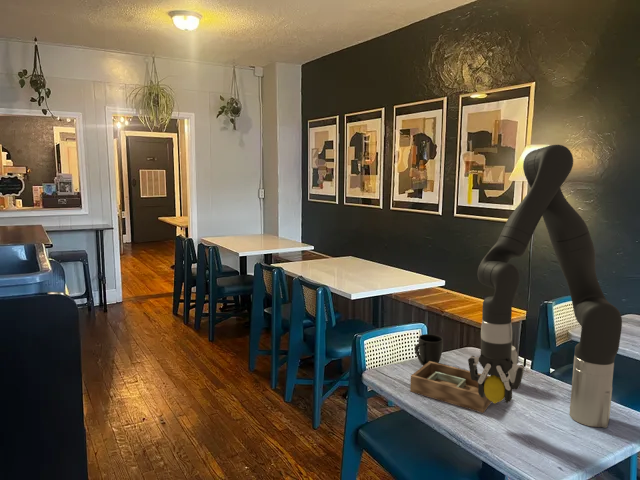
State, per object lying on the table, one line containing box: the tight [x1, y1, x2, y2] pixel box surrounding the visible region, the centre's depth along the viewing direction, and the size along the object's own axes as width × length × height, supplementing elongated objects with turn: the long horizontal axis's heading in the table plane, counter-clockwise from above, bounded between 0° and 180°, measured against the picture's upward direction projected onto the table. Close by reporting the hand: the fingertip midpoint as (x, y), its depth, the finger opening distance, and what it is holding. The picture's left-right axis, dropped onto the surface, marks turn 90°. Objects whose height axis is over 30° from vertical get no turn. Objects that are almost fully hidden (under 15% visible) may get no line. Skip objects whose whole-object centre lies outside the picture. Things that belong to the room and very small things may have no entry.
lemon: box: [484, 375, 506, 404], centre depth 125 cm, size 6×6×8 cm
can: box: [508, 345, 519, 383], centre depth 150 cm, size 8×8×12 cm
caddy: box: [409, 361, 493, 414], centre depth 143 cm, size 22×14×5 cm, turn 54°
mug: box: [414, 333, 444, 367], centre depth 163 cm, size 8×12×10 cm
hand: (494, 398), depth 125 cm, fingers closed on lemon, 5 cm apart
